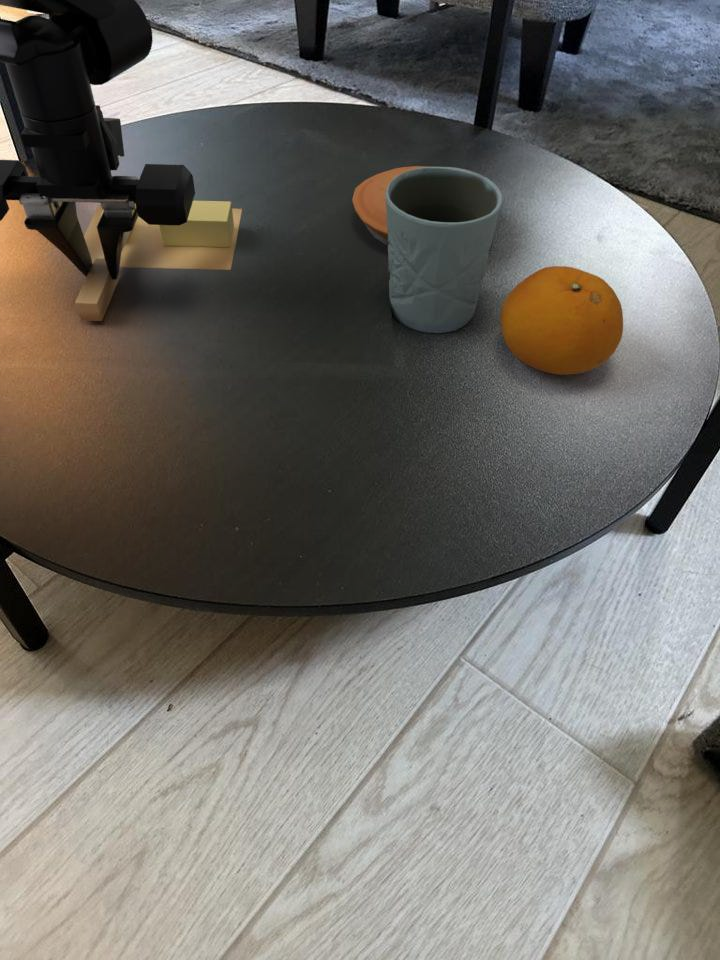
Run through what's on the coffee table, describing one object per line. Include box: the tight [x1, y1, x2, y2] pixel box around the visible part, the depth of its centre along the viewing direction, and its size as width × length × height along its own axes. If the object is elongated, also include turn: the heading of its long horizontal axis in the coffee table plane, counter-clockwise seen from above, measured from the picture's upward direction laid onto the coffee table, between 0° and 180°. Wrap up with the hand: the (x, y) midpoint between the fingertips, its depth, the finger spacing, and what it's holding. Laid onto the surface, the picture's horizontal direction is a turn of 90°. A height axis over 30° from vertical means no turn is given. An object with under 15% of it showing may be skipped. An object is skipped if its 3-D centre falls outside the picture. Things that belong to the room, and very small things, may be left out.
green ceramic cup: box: [385, 166, 504, 334], centre depth 68 cm, size 10×10×12 cm
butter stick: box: [159, 200, 234, 247], centre depth 77 cm, size 7×4×3 cm, turn 90°
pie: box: [351, 165, 427, 246], centre depth 80 cm, size 16×16×5 cm
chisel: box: [74, 231, 130, 322], centre depth 72 cm, size 17×2×2 cm, turn 179°
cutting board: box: [70, 204, 243, 271], centre depth 78 cm, size 16×12×1 cm
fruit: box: [500, 265, 624, 376], centre depth 66 cm, size 10×10×8 cm
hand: (103, 276), depth 70 cm, fingers closed on chisel, 2 cm apart
